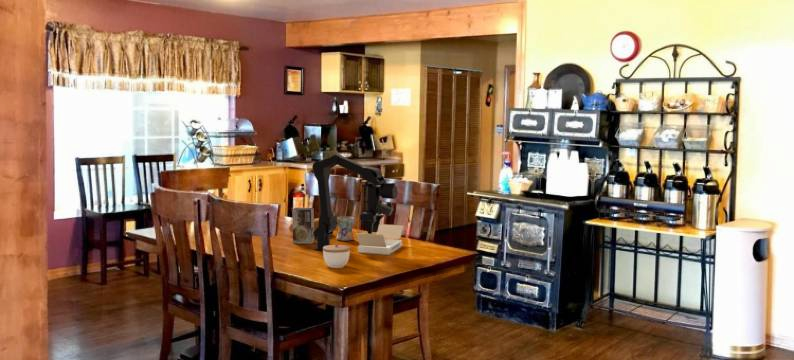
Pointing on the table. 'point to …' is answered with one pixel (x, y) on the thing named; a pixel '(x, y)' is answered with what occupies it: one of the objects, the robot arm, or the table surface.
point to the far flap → (390, 231)
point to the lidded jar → (336, 255)
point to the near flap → (371, 240)
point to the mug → (345, 228)
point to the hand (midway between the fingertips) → (373, 233)
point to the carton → (382, 248)
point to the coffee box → (303, 225)
